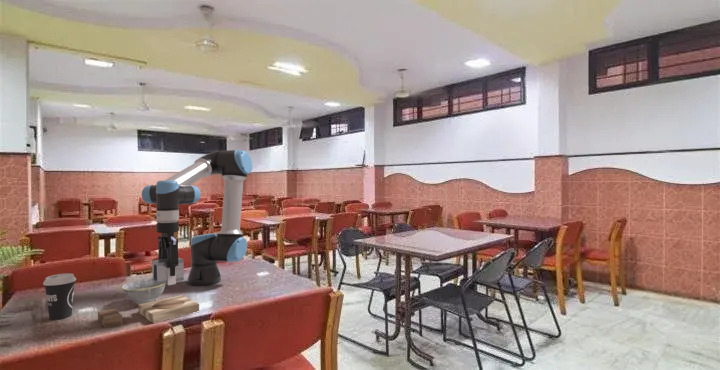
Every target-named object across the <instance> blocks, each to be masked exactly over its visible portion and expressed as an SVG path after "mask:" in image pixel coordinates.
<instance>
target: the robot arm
mask: <svg viewBox="0 0 720 370" xmlns="http://www.w3.org/2000/svg"><path fill="white" fill-rule="evenodd" d="M252 170H253V161H252V157H251V156H250V154H249V153H248V152H247V150H239V149H235V150H234V149H232V150H231V149H230V150H214V151H212V152H209V153H207V154H205V155H202V156H201V157H199V158H197V159H195V161H194V162H193V163H192V164H191V165H188V166H187V167H186V168H184V169H182V170H180V171H179V172H177V173H175V174H173V175H172V176H170V177H168V178H166V179H164V180H158V181H157V182H156V184H155V185H153V184H151V185H146V186H144V187H143V188H142V191H141V197H142V198H141V199H142V201H143V202H144V203H146V204H151V205H156V213H155V214H154V215H155V217H156V232H157V233H159V234H161V235H159V236H158V237H157V242H158V245H157V246H158V250H157V251H158V255H157V257H158V258H157V260H160V259H167V258H168V266H167V281H168V283H167V286H172V285H173V286H174V285H176V284H177V282H176V266H178V257H179V239H178V238H176V236H175V233H178V232H179V231H180V226H179V225H180V223H179V220H180V211H179V210H180V208H179V205H192V204H196V203H197V202H198V201H200V199H201V190H200V189H199V187H197V186H196V185H194V184H195V183H197V181H199V180H201V179H203V178H208V177H210V176H212V175H221V178H223V180H224V187H223V188H224V189H223V199H222V200H223V201H222V203H223V204H222V213H221V215H222V217H221V229H220V230H219V231H218V232H217V233H215V232H214V233H213V232H212V233H211V232H210V233H205V234H198V235H195V236H193V237H192V238H191V240H190V263H191V264H190V265H191V266H190V270H189V273H188V277H187V285H189V286H197V287H198V286H199V287H200V286H201V287H202V286H210V285H213V284H217V283H219V282H221V280H222V275H221V272H220V270H219V267H218V262H227V263H228V262H229V263H237V262H240V261H241V260H242V259H244V257H245V255H246V254H247V252H248V251H247V250H248V242H247V239H246V238H245V237H244V233H243V232H242V231H241V220H242V209H243V208H242V204H243V191H244V190H243V189H244V181H245V180H247V176H248V175H249V174H250V173H252Z"/></svg>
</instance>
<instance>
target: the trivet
mask: <svg viewBox="0 0 720 370" xmlns="http://www.w3.org/2000/svg"><path fill="white" fill-rule="evenodd" d="M137 305H138V306H137V307H138V313H139V314H140V315H141V316H142V317H144V318H145V319H146V320H148V321H149V322H151V323H152V324H153V323H154V324H157V323H161V322H160V321H162V322H164V321H163V320H166V319H169V320H171V319H170V318H173V317H177V316H181V315H185V314H189V313H193V312H197V311H199V312H200V303H199V302H196V301H195V300H192V299H191V298H188V297H187V296H185V295H183V294H180V295H176V296H172V297H167V298H162V299H158V300H155V301H153V302H148V303H144V304H137ZM197 313H198V312H197ZM193 314H194V313H193ZM189 315H190V314H189ZM185 316H186V315H185ZM181 317H182V316H181ZM177 318H178V317H177ZM173 319H174V318H173ZM166 321H167V320H166Z"/></svg>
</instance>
